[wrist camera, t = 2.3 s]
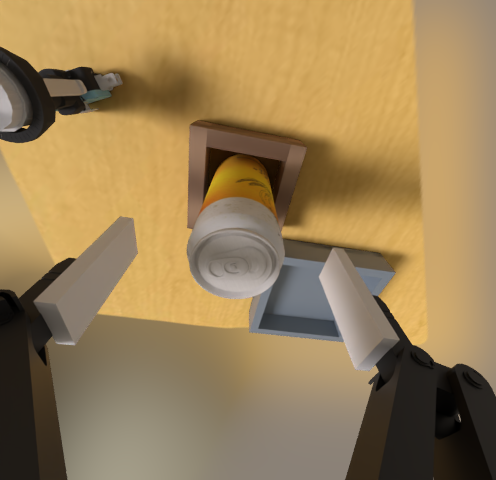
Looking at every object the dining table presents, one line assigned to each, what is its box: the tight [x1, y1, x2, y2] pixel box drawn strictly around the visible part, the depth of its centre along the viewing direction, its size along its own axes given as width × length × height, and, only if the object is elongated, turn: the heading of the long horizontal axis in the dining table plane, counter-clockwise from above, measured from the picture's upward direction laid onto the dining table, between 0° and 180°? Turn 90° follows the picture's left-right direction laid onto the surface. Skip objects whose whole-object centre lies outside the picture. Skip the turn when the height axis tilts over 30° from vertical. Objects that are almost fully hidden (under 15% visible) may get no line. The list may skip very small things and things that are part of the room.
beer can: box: [187, 155, 285, 299], centre depth 19 cm, size 6×6×15 cm
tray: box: [249, 239, 396, 342], centre depth 33 cm, size 16×16×4 cm
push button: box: [0, 47, 123, 143], centre depth 16 cm, size 7×5×10 cm
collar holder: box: [187, 120, 307, 231], centre depth 24 cm, size 10×10×4 cm
